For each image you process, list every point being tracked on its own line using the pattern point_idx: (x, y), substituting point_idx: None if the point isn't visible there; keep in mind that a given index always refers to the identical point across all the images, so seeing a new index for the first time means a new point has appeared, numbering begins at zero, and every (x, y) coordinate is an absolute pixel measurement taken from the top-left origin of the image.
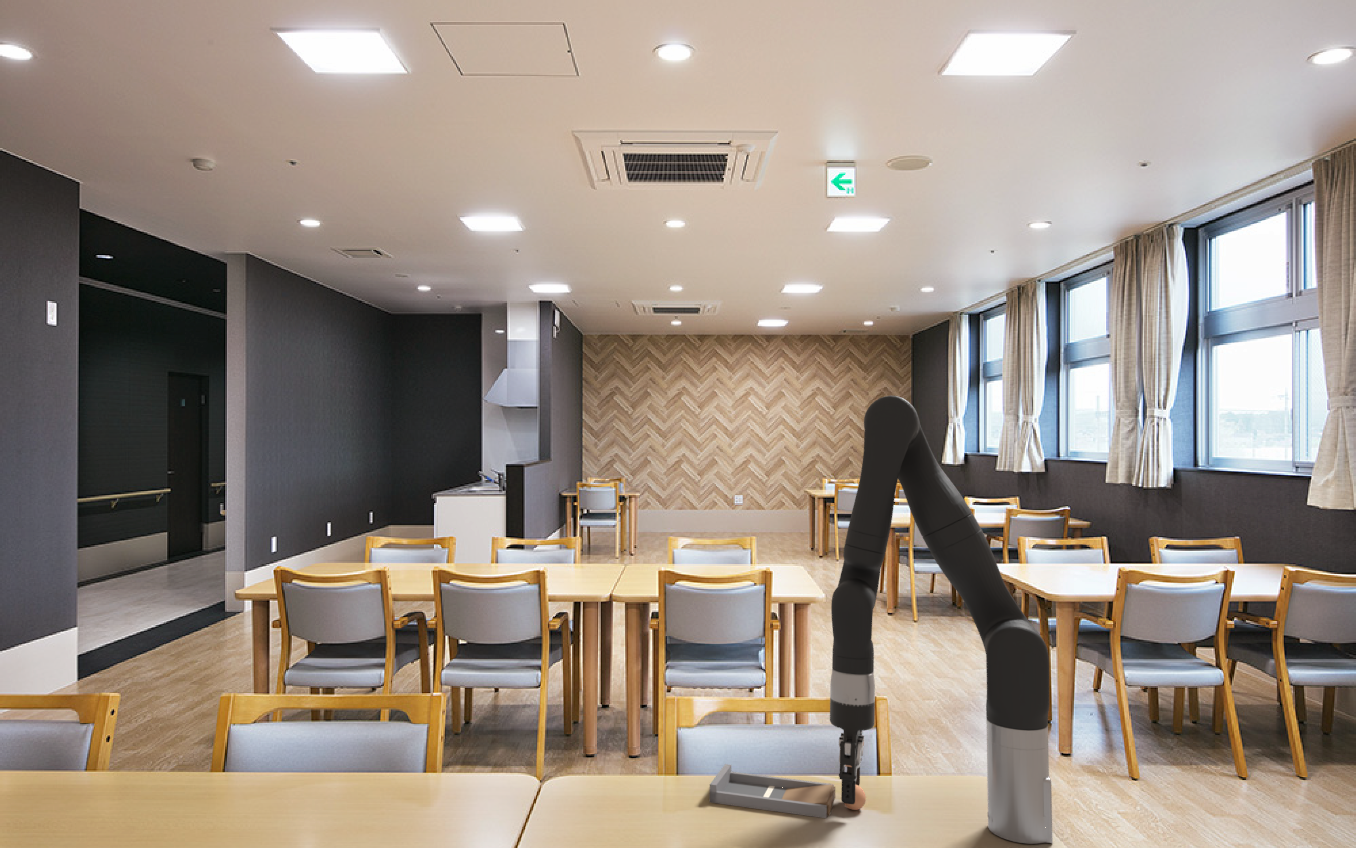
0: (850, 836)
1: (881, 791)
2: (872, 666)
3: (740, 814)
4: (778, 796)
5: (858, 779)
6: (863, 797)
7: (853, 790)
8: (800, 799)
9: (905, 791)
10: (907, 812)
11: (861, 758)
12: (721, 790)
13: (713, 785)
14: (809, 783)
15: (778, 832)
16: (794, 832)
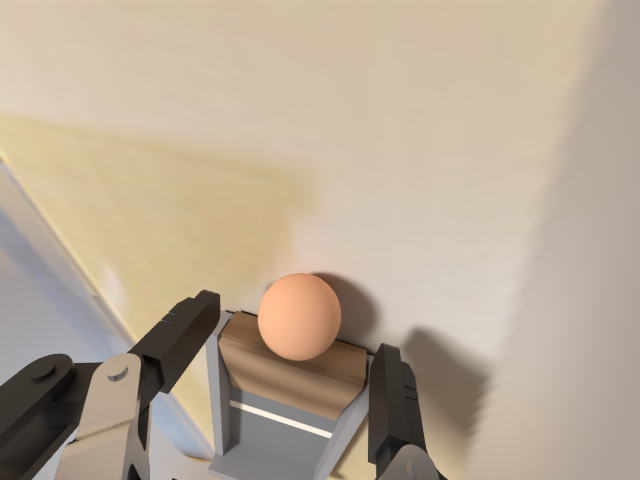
0: (504, 333)
1: (126, 172)
2: None
3: (361, 452)
4: (280, 407)
5: (204, 311)
6: (322, 301)
7: (402, 398)
8: (311, 399)
9: (73, 69)
10: (291, 102)
11: (113, 376)
12: (287, 465)
13: None
14: (219, 373)
15: (451, 436)
16: (455, 417)
